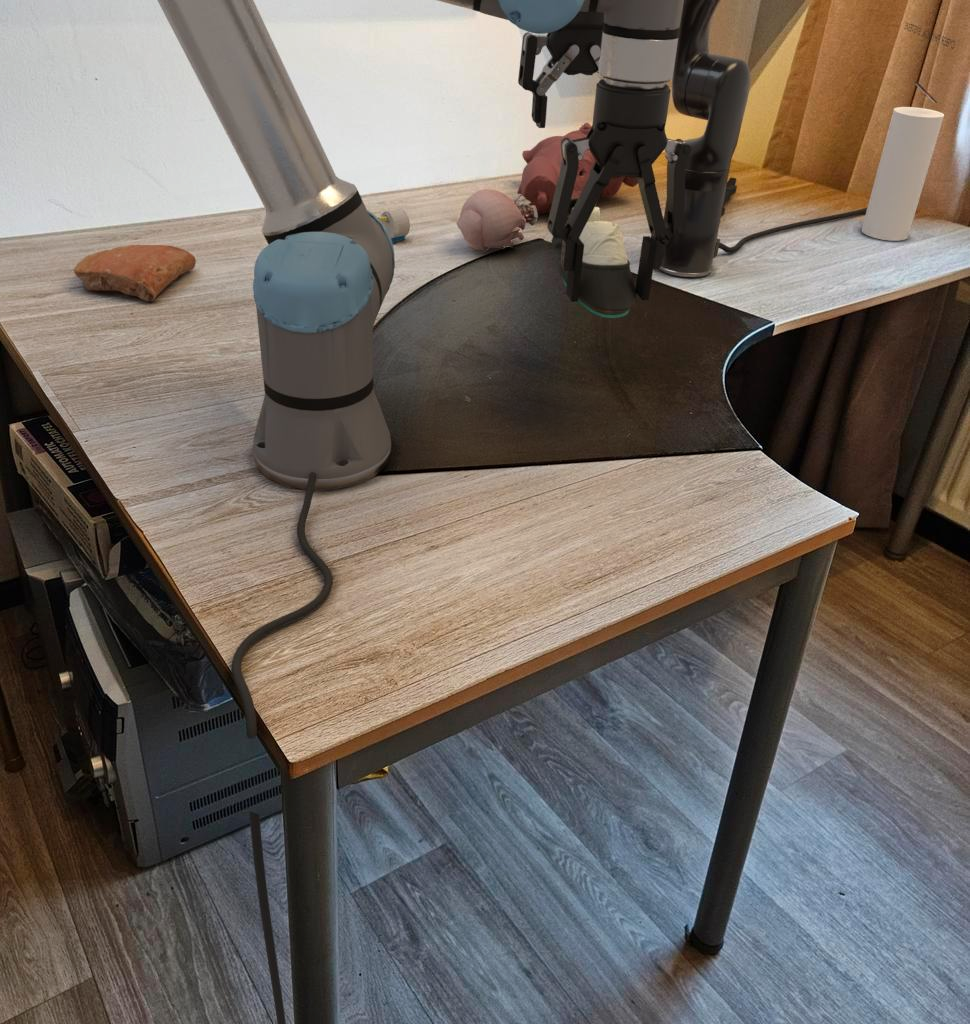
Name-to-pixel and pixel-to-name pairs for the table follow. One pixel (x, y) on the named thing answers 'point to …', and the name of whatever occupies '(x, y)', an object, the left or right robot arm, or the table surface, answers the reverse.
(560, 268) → the ballet flat
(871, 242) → the table surface
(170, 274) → the ceramic shard
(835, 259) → the table surface
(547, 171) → the reddish-brown lumpy piece
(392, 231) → the electric motor
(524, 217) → the toy
